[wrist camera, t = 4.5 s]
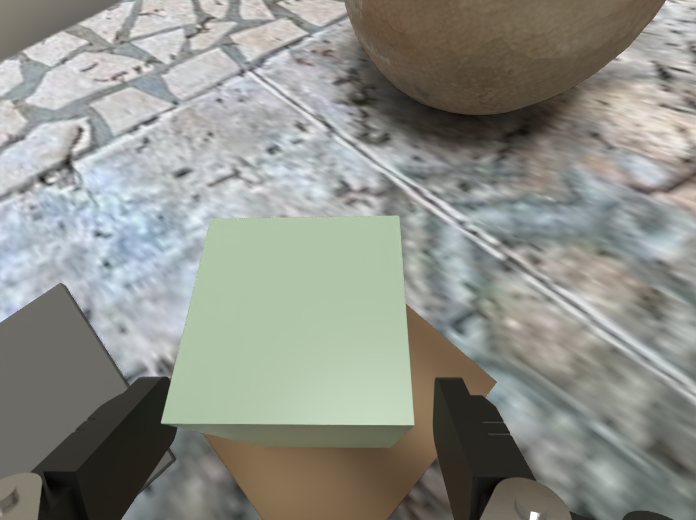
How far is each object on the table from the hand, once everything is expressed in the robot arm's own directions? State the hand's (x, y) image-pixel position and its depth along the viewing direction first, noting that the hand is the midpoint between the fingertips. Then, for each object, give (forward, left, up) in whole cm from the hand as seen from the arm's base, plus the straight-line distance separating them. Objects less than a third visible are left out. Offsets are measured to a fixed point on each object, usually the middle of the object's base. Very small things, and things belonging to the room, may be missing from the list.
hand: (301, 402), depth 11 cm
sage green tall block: (-2, -1, -8) cm, 8 cm away
